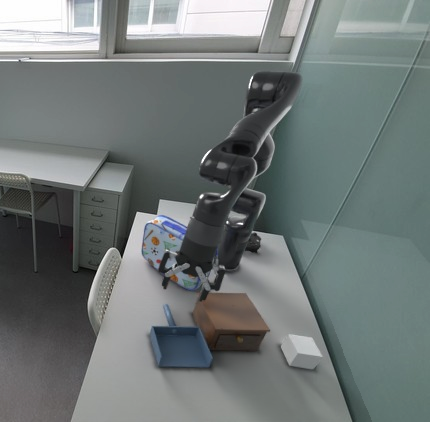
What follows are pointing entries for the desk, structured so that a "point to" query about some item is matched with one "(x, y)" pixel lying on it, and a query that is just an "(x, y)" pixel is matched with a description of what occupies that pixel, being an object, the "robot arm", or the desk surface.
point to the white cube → (301, 351)
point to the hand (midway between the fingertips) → (182, 293)
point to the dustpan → (179, 345)
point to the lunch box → (172, 239)
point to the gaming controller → (253, 243)
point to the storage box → (230, 322)
